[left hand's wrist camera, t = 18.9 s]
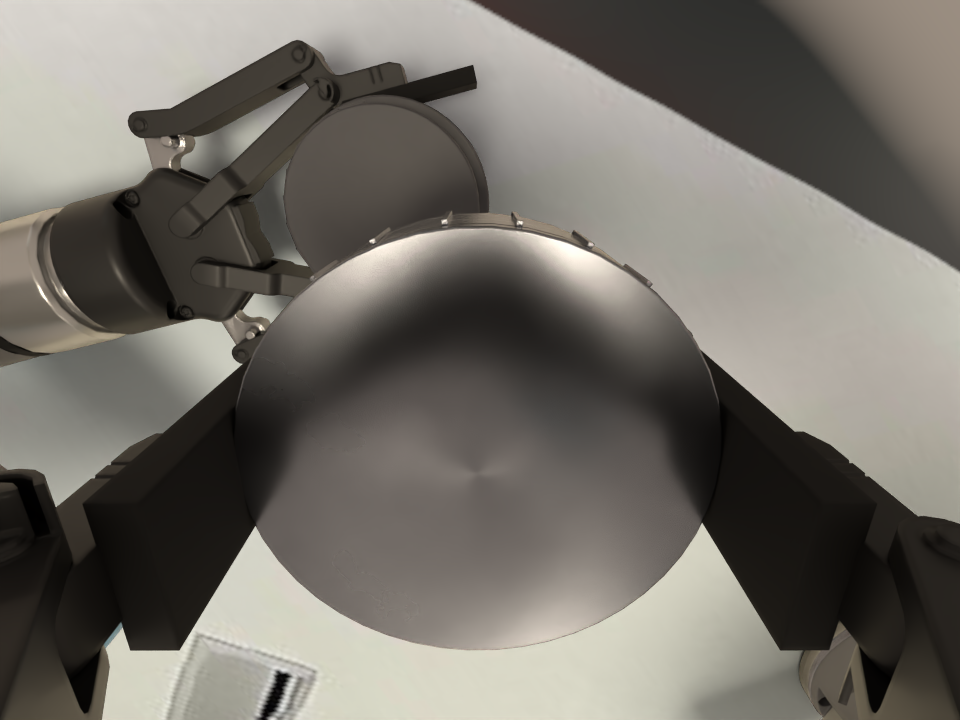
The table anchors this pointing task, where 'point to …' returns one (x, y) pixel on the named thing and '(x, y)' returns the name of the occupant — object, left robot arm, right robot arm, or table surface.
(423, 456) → the lid
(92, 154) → the table surface
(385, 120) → the jar
